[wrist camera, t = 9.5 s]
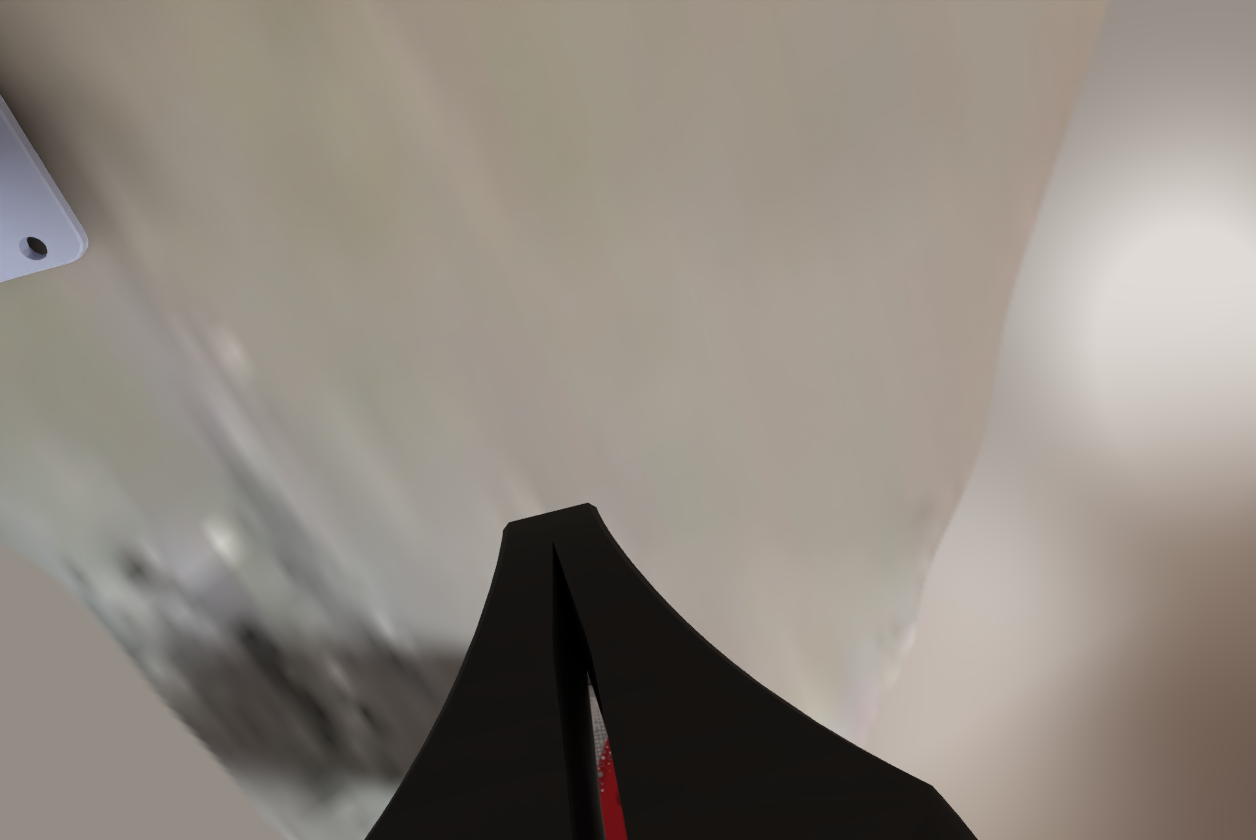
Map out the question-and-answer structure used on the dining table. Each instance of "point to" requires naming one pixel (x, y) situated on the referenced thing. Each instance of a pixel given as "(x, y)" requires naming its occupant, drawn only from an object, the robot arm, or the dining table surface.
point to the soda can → (606, 777)
